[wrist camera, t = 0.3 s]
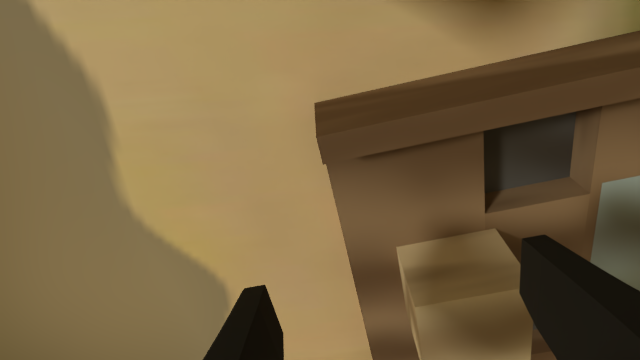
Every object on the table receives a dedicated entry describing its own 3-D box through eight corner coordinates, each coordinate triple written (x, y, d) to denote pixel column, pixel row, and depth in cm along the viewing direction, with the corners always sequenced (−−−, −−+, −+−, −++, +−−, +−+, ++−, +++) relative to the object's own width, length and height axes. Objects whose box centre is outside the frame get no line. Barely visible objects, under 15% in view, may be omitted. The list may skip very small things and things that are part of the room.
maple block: (495, 298, 22) (530, 361, 19) (406, 314, 23) (425, 379, 19) (495, 228, 20) (535, 286, 16) (396, 247, 20) (415, 307, 17)
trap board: (670, 323, 27) (725, 378, 23) (377, 372, 28) (387, 430, 25) (772, 1, 17) (892, 12, 13) (314, 103, 19) (316, 136, 15)
